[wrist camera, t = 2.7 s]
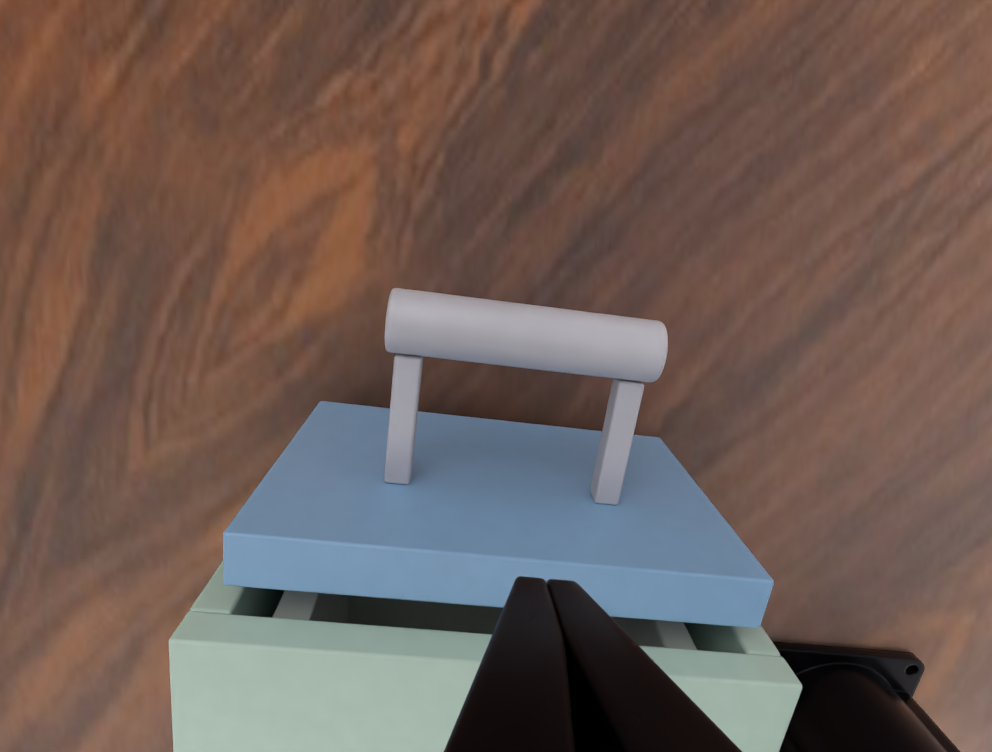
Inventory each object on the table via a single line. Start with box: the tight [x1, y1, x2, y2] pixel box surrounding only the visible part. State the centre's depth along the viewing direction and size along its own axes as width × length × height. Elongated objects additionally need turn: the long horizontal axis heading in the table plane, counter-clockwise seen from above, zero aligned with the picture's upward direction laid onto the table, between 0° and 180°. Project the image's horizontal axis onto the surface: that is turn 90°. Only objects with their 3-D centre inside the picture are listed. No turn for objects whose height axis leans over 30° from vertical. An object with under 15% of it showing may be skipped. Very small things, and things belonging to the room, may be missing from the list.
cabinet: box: [169, 561, 802, 752], centre depth 17 cm, size 14×12×9 cm
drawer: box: [223, 288, 774, 650], centre depth 16 cm, size 17×11×7 cm, turn 172°
